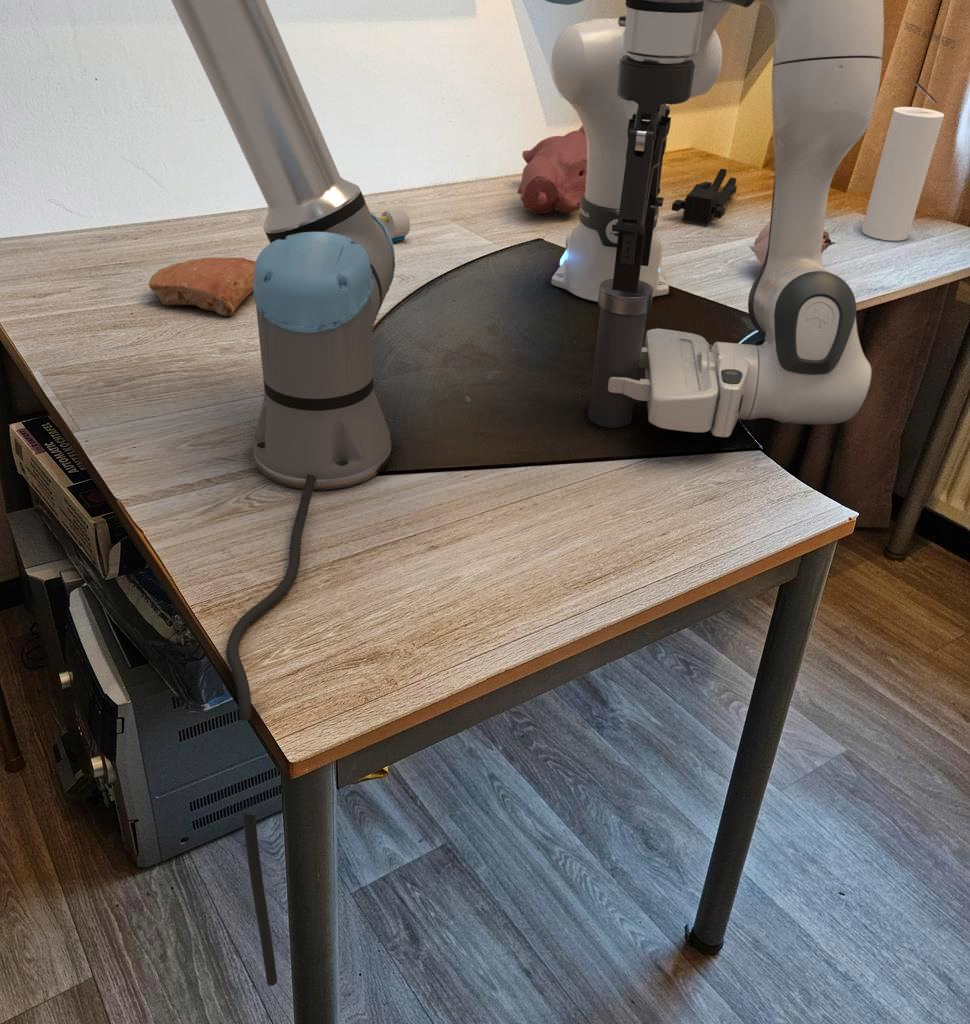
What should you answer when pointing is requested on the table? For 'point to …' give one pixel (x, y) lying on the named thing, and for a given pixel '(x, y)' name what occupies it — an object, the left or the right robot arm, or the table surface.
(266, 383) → the left robot arm
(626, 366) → the jar
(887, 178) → the tall white tube
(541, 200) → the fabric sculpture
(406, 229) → the electric motor
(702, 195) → the toy
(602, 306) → the lid
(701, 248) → the table surface
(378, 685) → the table surface
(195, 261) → the ceramic shard
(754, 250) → the toy
